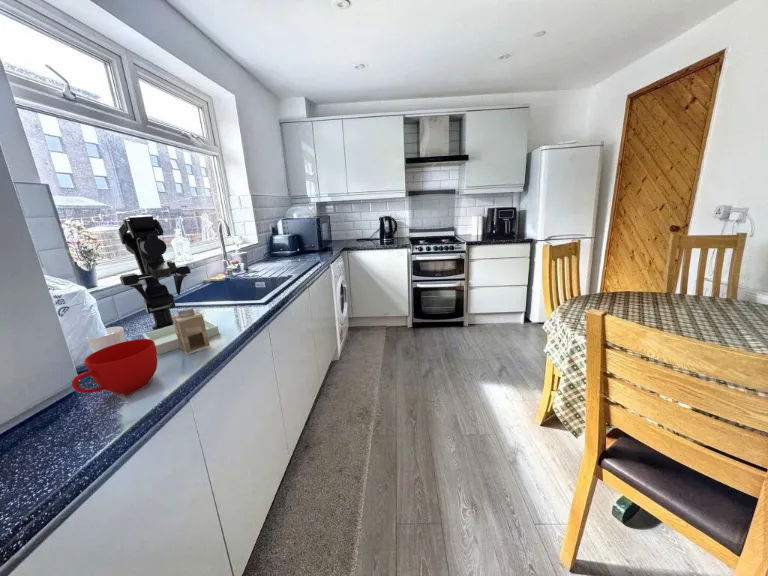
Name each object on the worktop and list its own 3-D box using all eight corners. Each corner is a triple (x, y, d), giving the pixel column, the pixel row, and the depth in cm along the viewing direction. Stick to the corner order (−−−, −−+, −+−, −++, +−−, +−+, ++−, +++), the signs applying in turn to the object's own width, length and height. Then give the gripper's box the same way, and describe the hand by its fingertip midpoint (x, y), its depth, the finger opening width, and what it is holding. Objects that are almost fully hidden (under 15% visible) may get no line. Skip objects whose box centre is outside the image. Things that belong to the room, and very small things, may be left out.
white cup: (112, 371, 83) (100, 338, 80) (90, 369, 84) (78, 337, 82) (139, 357, 90) (129, 326, 87) (119, 356, 92) (108, 326, 89)
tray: (144, 341, 101) (142, 333, 100) (202, 324, 114) (200, 316, 113) (157, 355, 91) (154, 346, 90) (219, 333, 103) (217, 325, 103)
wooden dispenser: (180, 348, 94) (170, 311, 90) (202, 341, 99) (193, 305, 95) (187, 354, 90) (176, 315, 86) (210, 346, 94) (200, 309, 91)
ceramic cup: (63, 412, 66) (46, 372, 63) (138, 370, 82) (127, 337, 79) (107, 417, 63) (92, 376, 60) (176, 374, 79) (167, 339, 76)
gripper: (119, 261, 88) (135, 310, 92) (190, 250, 101) (201, 294, 105) (113, 258, 95) (128, 304, 99) (180, 249, 108) (190, 290, 112)
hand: (163, 298), depth 104 cm, fingers open, 9 cm apart
